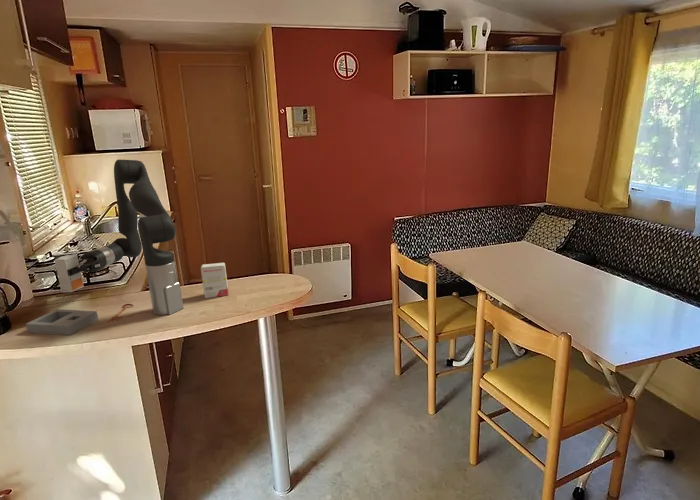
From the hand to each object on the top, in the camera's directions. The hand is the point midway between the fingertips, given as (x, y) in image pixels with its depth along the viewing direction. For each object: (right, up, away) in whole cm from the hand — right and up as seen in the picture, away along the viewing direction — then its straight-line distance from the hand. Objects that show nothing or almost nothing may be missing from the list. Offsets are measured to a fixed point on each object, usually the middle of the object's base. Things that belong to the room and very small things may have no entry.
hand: (62, 273), depth 159 cm
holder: (+5, -17, -7) cm, 19 cm away
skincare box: (+1, -6, +4) cm, 8 cm away
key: (+20, -14, +2) cm, 25 cm away
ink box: (+49, -9, +15) cm, 52 cm away
